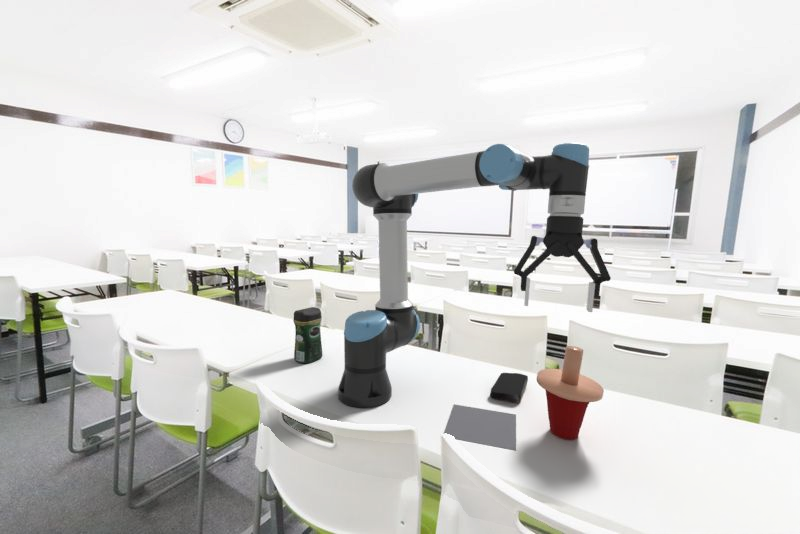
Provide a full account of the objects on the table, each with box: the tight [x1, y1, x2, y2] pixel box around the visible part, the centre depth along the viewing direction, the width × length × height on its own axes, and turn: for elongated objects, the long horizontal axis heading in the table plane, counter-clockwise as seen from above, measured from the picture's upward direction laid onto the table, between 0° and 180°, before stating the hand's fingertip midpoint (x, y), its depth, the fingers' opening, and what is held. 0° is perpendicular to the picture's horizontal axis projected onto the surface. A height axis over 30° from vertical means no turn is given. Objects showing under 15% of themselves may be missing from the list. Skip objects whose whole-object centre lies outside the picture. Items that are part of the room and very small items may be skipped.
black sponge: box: [489, 372, 529, 404], centre depth 108 cm, size 16×8×4 cm, turn 153°
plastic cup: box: [544, 389, 590, 441], centre depth 85 cm, size 11×11×12 cm
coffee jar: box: [292, 306, 323, 364], centre depth 130 cm, size 10×8×19 cm
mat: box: [443, 404, 517, 452], centre depth 89 cm, size 16×16×1 cm
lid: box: [536, 345, 604, 403], centre depth 84 cm, size 14×14×9 cm
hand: (556, 307), depth 85 cm, fingers open, 13 cm apart
